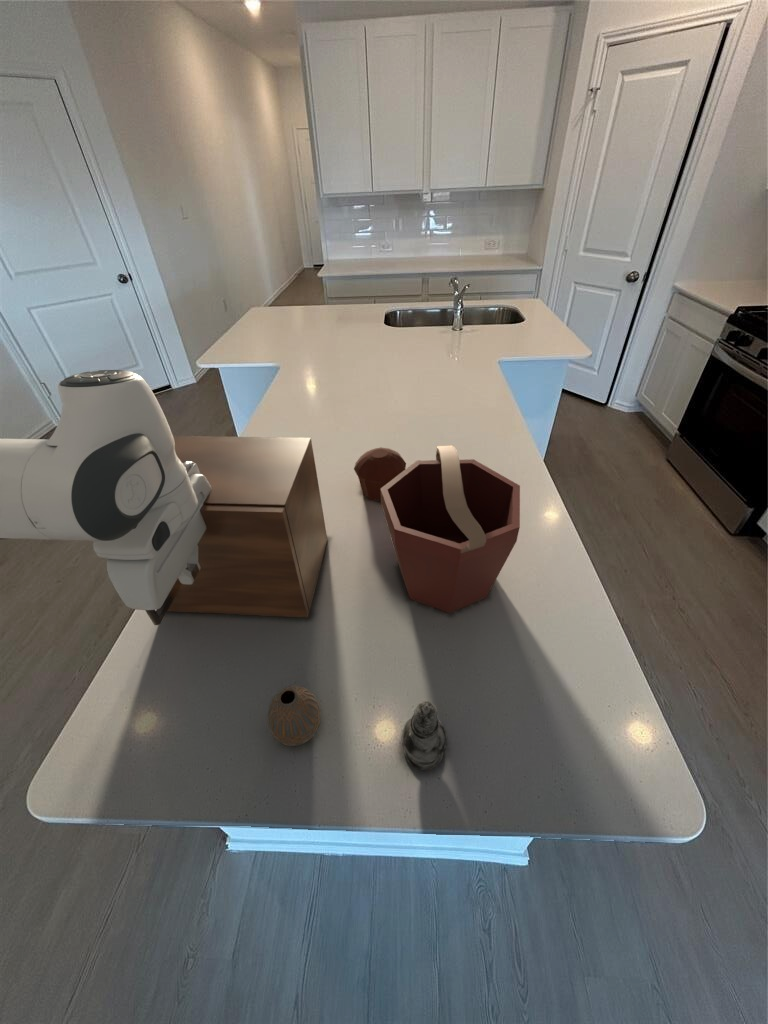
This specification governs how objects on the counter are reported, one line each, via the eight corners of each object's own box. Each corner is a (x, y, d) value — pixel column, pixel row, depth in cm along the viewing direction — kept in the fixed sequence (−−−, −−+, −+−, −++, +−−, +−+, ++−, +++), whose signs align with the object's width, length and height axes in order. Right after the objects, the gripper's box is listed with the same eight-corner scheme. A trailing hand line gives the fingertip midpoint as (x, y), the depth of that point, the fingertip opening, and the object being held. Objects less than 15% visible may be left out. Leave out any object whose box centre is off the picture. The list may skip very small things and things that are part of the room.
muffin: (389, 470, 108) (388, 434, 102) (415, 492, 101) (416, 455, 94) (347, 486, 103) (343, 450, 97) (371, 511, 96) (369, 474, 90)
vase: (328, 706, 63) (321, 674, 58) (316, 757, 58) (306, 728, 52) (282, 700, 64) (270, 668, 59) (266, 749, 59) (251, 720, 53)
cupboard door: (301, 643, 71) (272, 538, 56) (148, 635, 73) (80, 532, 58) (309, 612, 76) (284, 506, 61) (165, 605, 78) (106, 502, 63)
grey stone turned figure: (453, 741, 59) (460, 697, 51) (433, 782, 55) (437, 742, 48) (414, 718, 62) (416, 673, 54) (393, 756, 58) (391, 714, 50)
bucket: (500, 642, 70) (528, 528, 54) (367, 619, 75) (356, 506, 58) (504, 538, 88) (526, 429, 72) (397, 524, 93) (395, 418, 76)
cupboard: (309, 611, 76) (284, 504, 61) (166, 605, 78) (107, 500, 63) (327, 539, 90) (311, 437, 74) (205, 535, 92) (164, 435, 76)
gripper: (169, 454, 62) (199, 527, 71) (82, 558, 46) (134, 636, 55) (213, 454, 61) (237, 528, 70) (139, 560, 46) (182, 638, 54)
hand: (191, 576), depth 62 cm, fingers closed
